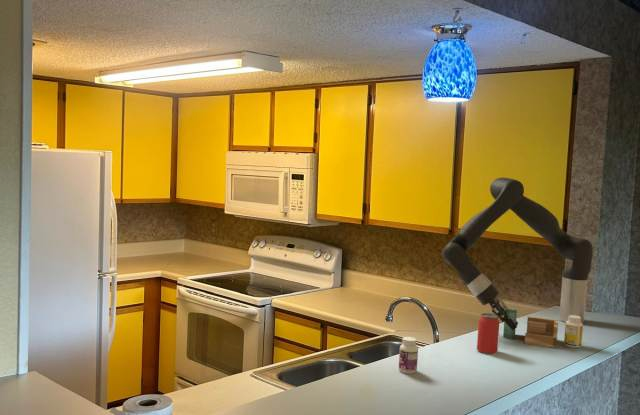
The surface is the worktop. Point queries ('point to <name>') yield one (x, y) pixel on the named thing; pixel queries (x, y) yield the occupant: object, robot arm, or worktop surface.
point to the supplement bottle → (573, 332)
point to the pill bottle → (408, 355)
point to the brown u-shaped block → (543, 340)
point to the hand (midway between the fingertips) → (515, 326)
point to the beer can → (488, 333)
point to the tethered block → (531, 328)
